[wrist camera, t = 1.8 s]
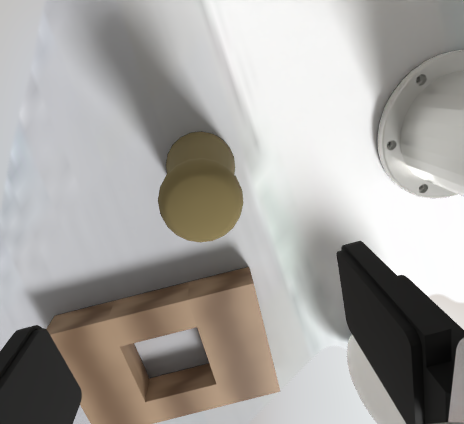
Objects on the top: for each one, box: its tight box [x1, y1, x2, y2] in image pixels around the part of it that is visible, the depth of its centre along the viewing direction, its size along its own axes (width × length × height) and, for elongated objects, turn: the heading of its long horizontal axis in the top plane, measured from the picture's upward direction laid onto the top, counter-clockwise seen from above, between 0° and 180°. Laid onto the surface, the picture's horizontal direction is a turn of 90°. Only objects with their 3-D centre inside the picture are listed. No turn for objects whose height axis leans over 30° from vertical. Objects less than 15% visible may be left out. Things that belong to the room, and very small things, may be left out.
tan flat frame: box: [46, 267, 280, 424], centre depth 34 cm, size 20×14×3 cm
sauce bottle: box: [347, 335, 406, 424], centre depth 29 cm, size 8×8×18 cm
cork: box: [158, 132, 243, 242], centre depth 24 cm, size 6×6×11 cm
